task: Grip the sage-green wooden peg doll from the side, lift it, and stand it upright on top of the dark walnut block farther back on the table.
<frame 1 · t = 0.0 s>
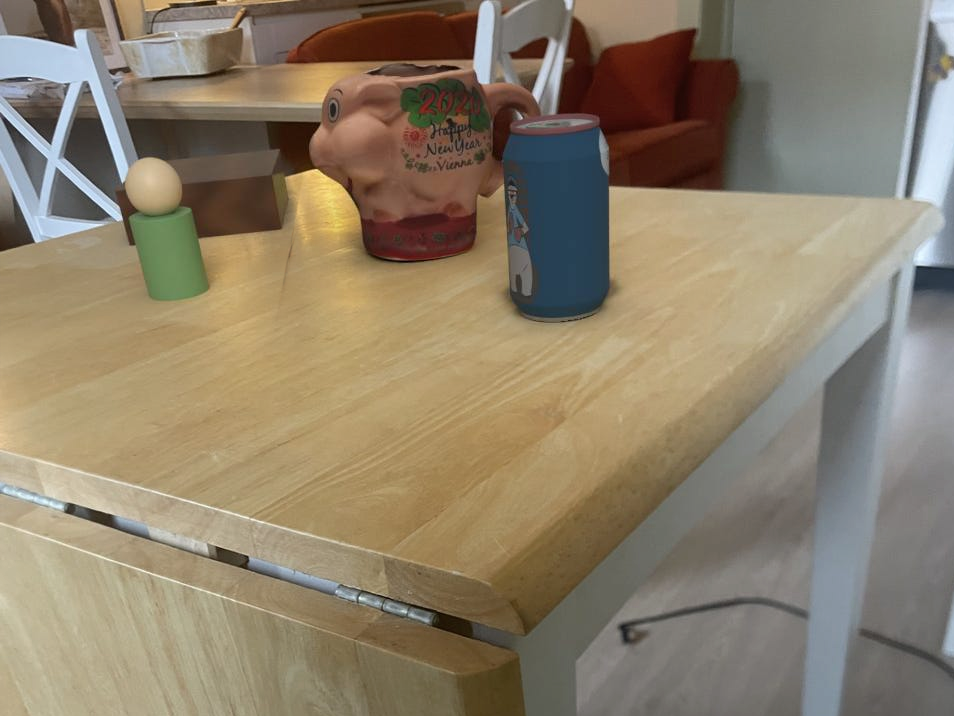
pink ceramic mug: (438, 247, 89), on the table
peg doll: (183, 308, 79), on the table
walnut block: (216, 234, 99), on the table
soda can: (560, 312, 71), on the table
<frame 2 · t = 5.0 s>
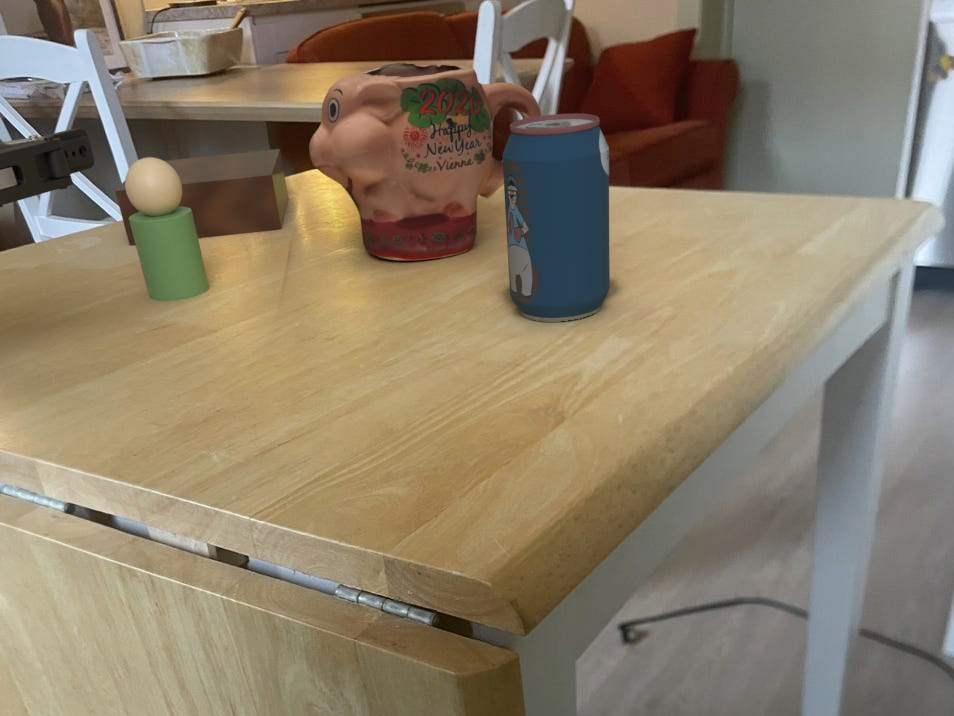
hand: (35, 148, 64), 13 cm above the table, tool horizontal, fingers open, 8 cm apart
nothing on the table moved.
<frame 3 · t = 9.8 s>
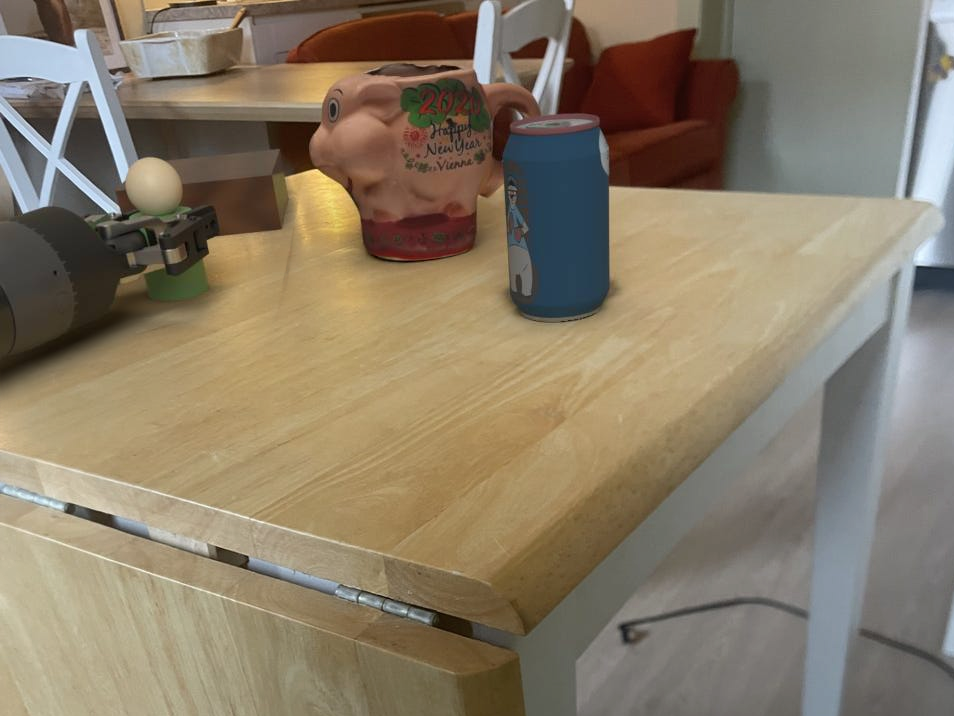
hand: (185, 218, 77), 6 cm above the table, tool horizontal, fingers closed on peg doll, 4 cm apart
peg doll: (183, 307, 79), on the table, touching gripper
everything else where it was.
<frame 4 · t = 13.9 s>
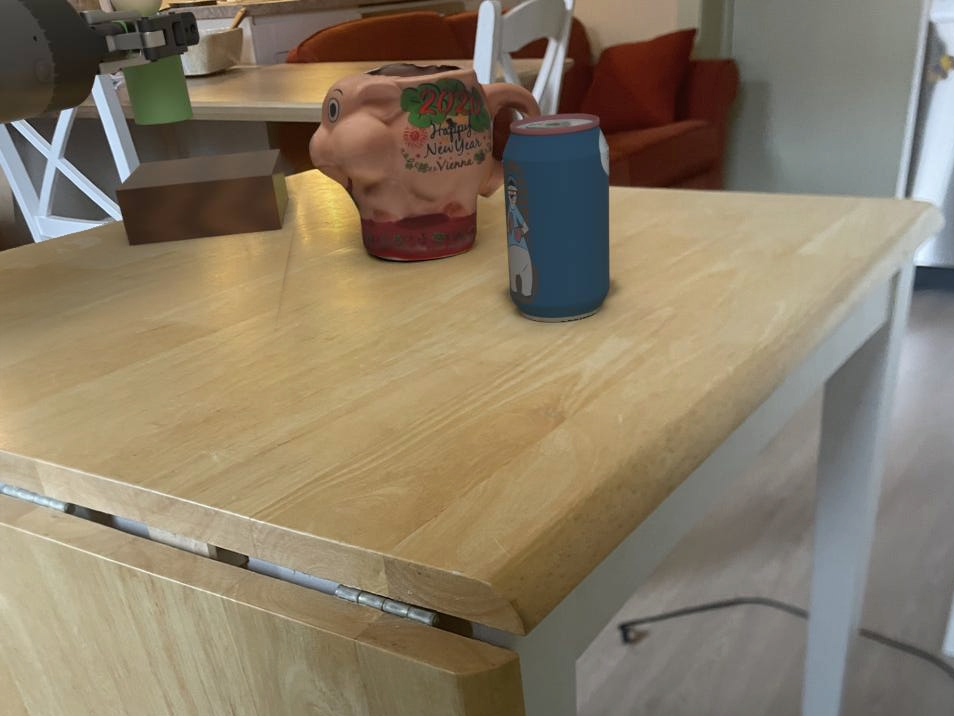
hand: (166, 29, 80), 18 cm above the table, tool horizontal, fingers closed on peg doll, 4 cm apart
peg doll: (164, 119, 81), point 12 cm above the table, touching gripper
everything else where it was.
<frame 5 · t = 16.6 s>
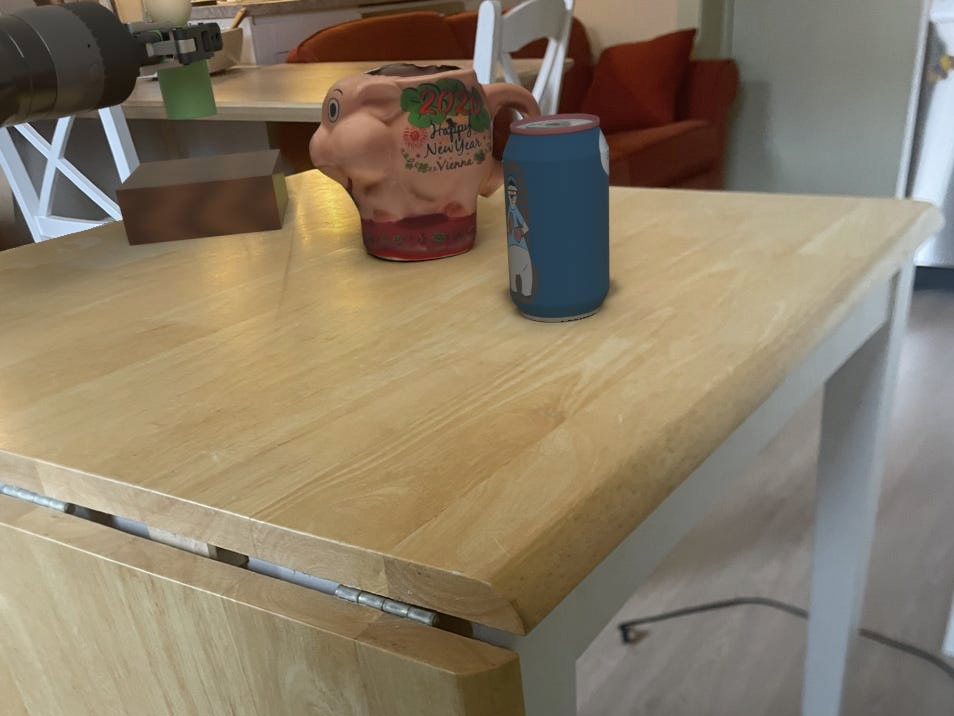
hand: (194, 37, 92), 16 cm above the table, tool horizontal, fingers closed on peg doll, 4 cm apart
peg doll: (192, 115, 93), point 10 cm above the table, touching gripper
everything else where it was.
when the fingers open (12 cm above the table, at t = 18.3 s): peg doll stays where it is, resting on walnut block.
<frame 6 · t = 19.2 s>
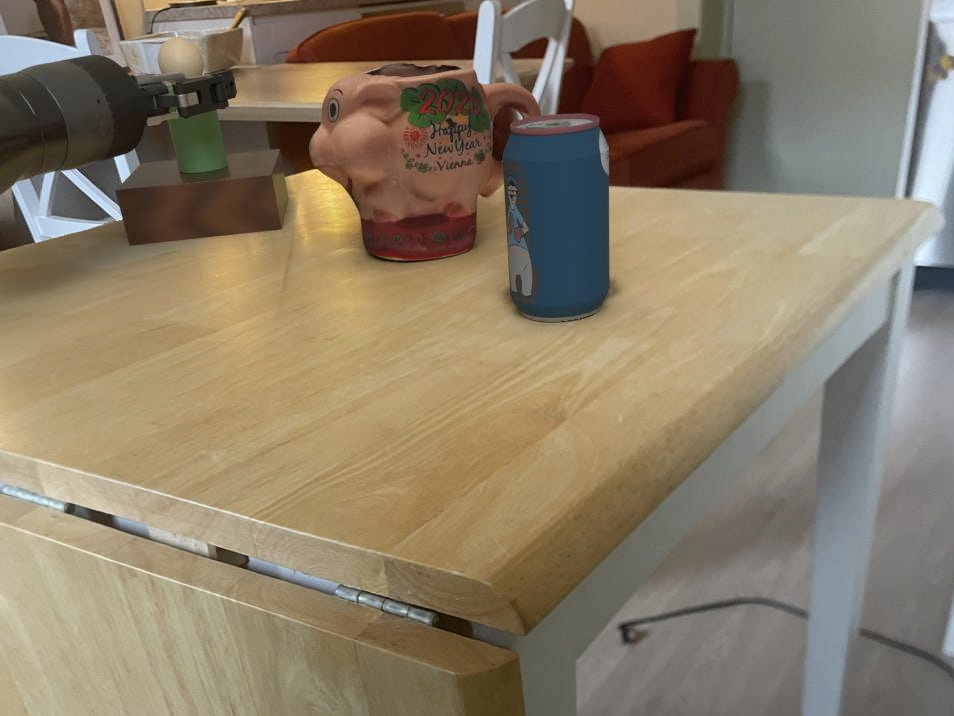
hand: (193, 85, 93), 13 cm above the table, tool horizontal, fingers open, 8 cm apart
peg doll: (203, 168, 96), point 6 cm above the table, touching walnut block
everything else where it was.
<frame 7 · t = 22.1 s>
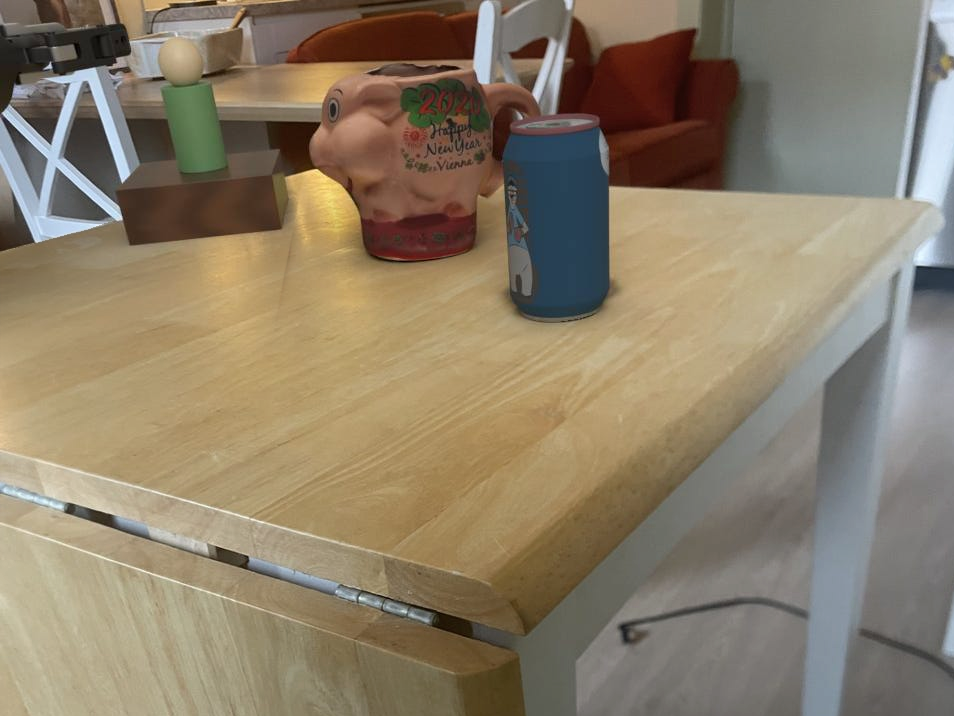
hand: (84, 41, 82), 18 cm above the table, tool horizontal, fingers open, 8 cm apart
nothing on the table moved.
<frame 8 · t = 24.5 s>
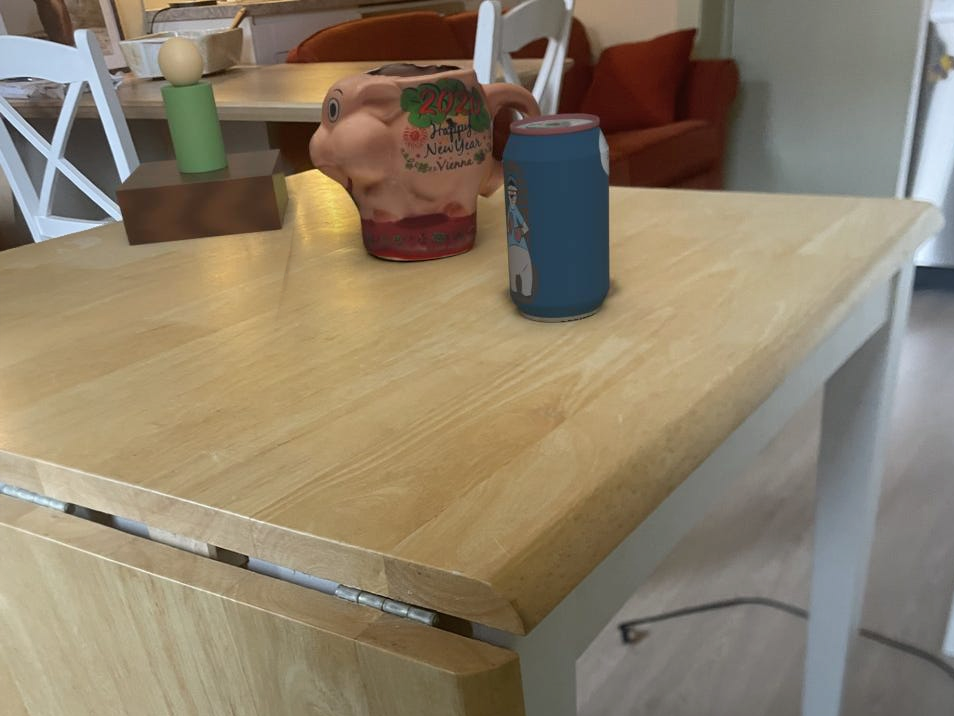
nothing on the table moved.
at the end: peg doll inside the target area on the walnut block (0.1 cm from its centre), point 6.0 cm above the walnut block's base; peg doll tilted 0°; the gripper is holding nothing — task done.
